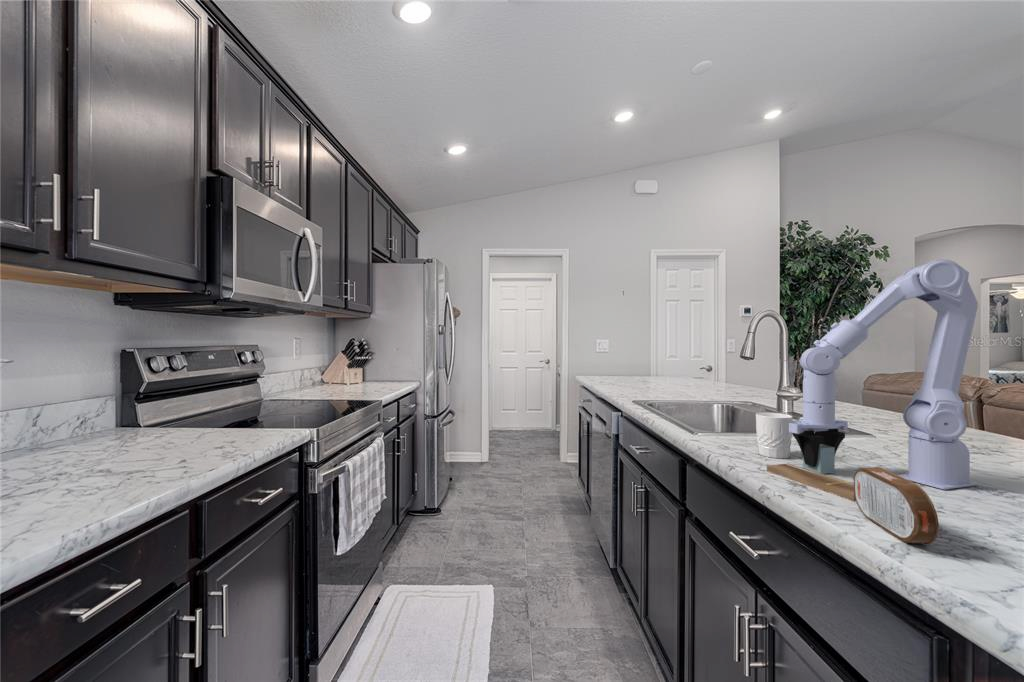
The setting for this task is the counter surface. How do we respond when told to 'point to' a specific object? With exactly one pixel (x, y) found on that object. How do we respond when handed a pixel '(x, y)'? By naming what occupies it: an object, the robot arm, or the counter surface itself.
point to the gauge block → (824, 460)
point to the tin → (896, 505)
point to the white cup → (773, 434)
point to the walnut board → (815, 479)
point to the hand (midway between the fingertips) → (818, 464)
